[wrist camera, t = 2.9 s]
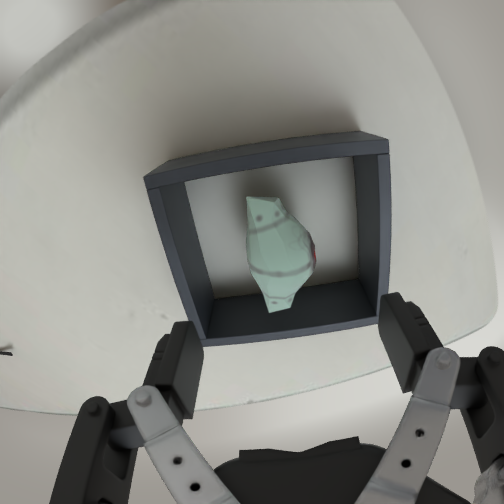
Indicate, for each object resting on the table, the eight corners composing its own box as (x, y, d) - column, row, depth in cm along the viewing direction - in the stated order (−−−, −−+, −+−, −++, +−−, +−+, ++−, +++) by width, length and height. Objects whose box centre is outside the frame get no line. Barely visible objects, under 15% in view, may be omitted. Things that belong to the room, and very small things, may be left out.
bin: (361, 130, 19) (388, 139, 14) (367, 285, 24) (385, 322, 20) (167, 160, 20) (142, 176, 16) (208, 307, 26) (198, 347, 21)
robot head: (239, 179, 21) (230, 210, 15) (298, 169, 20) (313, 197, 14) (259, 277, 24) (258, 334, 18) (310, 270, 24) (324, 325, 18)
